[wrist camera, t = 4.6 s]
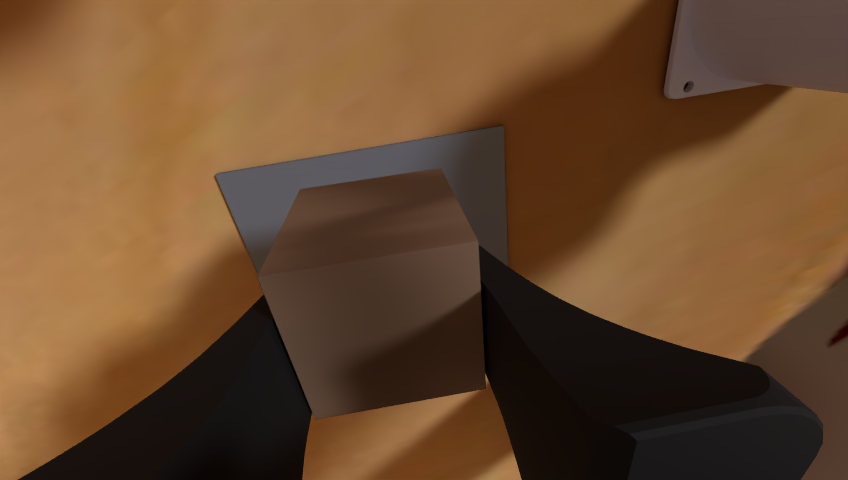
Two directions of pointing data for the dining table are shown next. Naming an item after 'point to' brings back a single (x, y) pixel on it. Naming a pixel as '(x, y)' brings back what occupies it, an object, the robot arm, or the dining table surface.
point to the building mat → (455, 154)
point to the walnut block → (378, 293)
